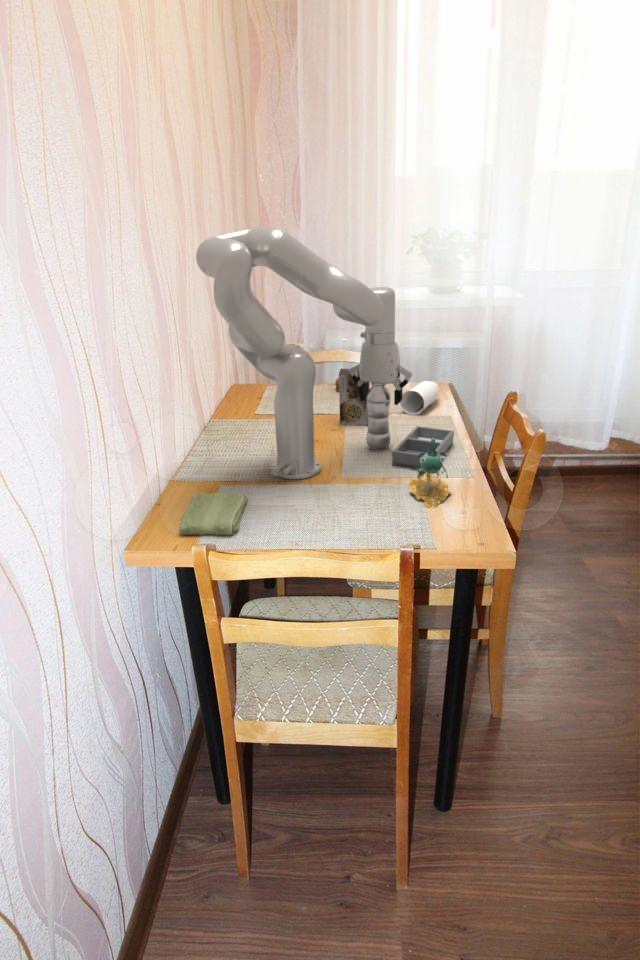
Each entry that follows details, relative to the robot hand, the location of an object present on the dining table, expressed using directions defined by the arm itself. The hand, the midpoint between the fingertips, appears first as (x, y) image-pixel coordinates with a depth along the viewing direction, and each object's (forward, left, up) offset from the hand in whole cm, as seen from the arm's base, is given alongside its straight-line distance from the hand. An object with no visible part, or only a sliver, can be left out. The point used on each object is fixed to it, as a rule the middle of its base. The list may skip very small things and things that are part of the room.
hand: (380, 401), depth 173 cm
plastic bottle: (0, 0, -13) cm, 13 cm away
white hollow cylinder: (+38, 0, -14) cm, 40 cm away
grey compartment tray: (0, -13, -13) cm, 18 cm away
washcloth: (-53, +19, -14) cm, 58 cm away
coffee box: (+17, +14, -14) cm, 26 cm away
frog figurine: (-21, -21, -14) cm, 33 cm away
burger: (+48, +29, -14) cm, 58 cm away
